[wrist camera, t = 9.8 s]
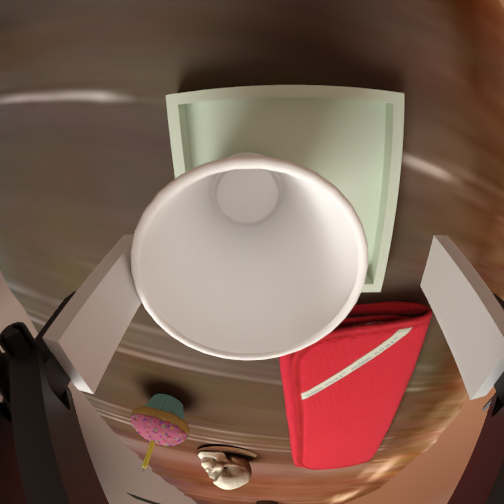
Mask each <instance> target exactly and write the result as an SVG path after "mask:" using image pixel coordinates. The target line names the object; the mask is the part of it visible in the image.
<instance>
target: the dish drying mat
mask: <svg viewBox="0 0 504 504" xmlns="http://www.w3.org/2000/svg"><path fill="white" fill-rule="evenodd" d="M431 316H432V309H431V308H430V307H428V306H426V305H423V304H419V303H412V302H403V301H387V302H378V303H370V304H360V305H354V307H353V308H352V309H351V311H350V312H349V314H348V315H347V316H346V318H345V319H344V320H343V321H342V322H341V323H340V324H339V325H338V326H337V327H336V328H335V329H334V330H333V331H332V332H330V333H329V334H327V335H326V336H324V337H323V338H322V339H320V340H319V341H317V342H316V343H314V344H312V345H310V346H308V347H305V348H303V349H301V350H299V351H296V352H293V353H290V354H287V355H284V356H280V357H279V362H280V370H281V378H282V384H283V391H284V398H285V408H286V415H287V420H288V427H289V437H290V446H291V452H292V457H293V461H294V464H295V466H298V467H304V468H307V469H313V470H321V469H335V468H342V467H348V466H353V465H357V464H361V463H364V462H367V461H369V460H370V459H371V458H372V457H373V456H374V454H375V453H376V451H377V450H378V448H379V446H380V444H381V442H382V440H383V438H384V436H385V434H386V432H387V431H388V429H389V427H390V425H391V422H392V419H393V417H394V415H395V413H396V411H397V409H398V406H399V404H400V401H401V399H402V397H403V394H404V392H405V390H406V387H407V385H408V382H409V380H410V377H411V375H412V373H413V370H414V368H415V365H416V362H417V359H418V356H419V353H420V350H421V347H422V345H423V342H424V338H425V335H426V332H427V329H428V326H429V322H430V320H431Z"/></svg>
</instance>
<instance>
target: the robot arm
mask: <svg viewBox="0 0 504 504" xmlns="http://www.w3.org/2000/svg"><path fill="white" fill-rule="evenodd" d="M133 237H134V235H124V236H123V237H122V238H121V239H120V240H119V241H118V242H117V244H116V245H115V246H114V247H113V248H112V249H111V250H110V252H109V253H108V254H107V255H106V256H105V257H104V259H103V260H102V261H101V262H100V263H99V264H98V266H97V267H96V268H95V269H94V270H93V272H92V273H91V274H90V275H89V276H88V278H87V279H86V280H85V281H84V283H83V284H82V285H81V286H80V288H79V289H78V290H77V291H76V292H75V291H74V292H73V293H72V294H71V295H69V296H68V297H67V298H65V299H64V301H63V302H62V303H61V304H60V306H59V307H58V309H57V310H56V311H55V312H54V314H53V316H51V318H50V319H49V320H48V322H47V323H46V324H45V326H44V327H43V328H42V330H41V331H40V333H39V334H38V335H37V337H36V338H35V339H34V338H33V336H32V335H31V333H30V331H29V330H28V328H27V327H26V325H25V324H24V323H22V322H16V323H13V324H11V325H9V326H7V327H6V328H5V329H4V330H3V331H2V332H1V334H0V345H1V347H2V348H3V350H4V351H5V353H2V352H1V350H0V395H1V396H2V397H3V401H2V403H1V402H0V504H109V503H108V501H107V498H106V496H105V494H104V491H103V489H102V487H101V484H100V482H99V480H98V477H97V475H96V472H95V469H94V467H93V464H92V461H91V459H90V456H89V453H88V450H87V447H86V444H85V441H84V438H83V435H82V432H81V428H80V425H79V421H78V418H77V414H76V410H75V406H74V402H73V398H72V394H71V391H70V389H69V388H68V384H69V382H70V380H71V381H72V382H73V384H74V385H75V386H76V388H77V389H78V390H81V391H85V392H88V393H92V394H94V393H95V390H96V388H97V386H98V384H99V382H100V380H101V378H102V376H103V374H104V372H105V370H106V368H107V366H108V364H109V362H110V360H111V358H112V356H113V354H114V352H115V350H116V348H117V346H118V345H119V343H120V341H121V339H122V337H123V335H124V333H125V331H126V329H127V328H128V326H129V324H130V322H131V320H132V318H133V316H134V315H135V313H136V311H137V309H138V307H139V306H140V304H141V302H142V301H141V299H140V297H139V295H138V293H137V291H136V288H135V284H134V280H133V277H132V273H131V247H132V242H133ZM420 286H421V288H422V290H423V292H424V294H425V296H426V298H427V300H428V302H429V304H430V306H431V308H432V310H433V312H434V314H435V316H436V318H437V320H438V323H439V325H440V327H441V329H442V331H443V333H444V336H445V338H446V340H447V342H448V345H449V347H450V349H451V352H452V354H453V356H454V359H455V361H456V364H457V366H458V369H459V371H460V374H461V376H462V379H463V381H464V384H465V387H466V390H467V392H468V395H469V398H470V400H472V399H476V398H479V397H483V396H486V395H487V393H488V392H489V391H490V390H491V388H492V387H493V386H494V387H495V389H496V393H495V395H494V396H493V397H492V398H491V399H490V400H489V401H488V403H487V404H486V405H485V406H484V408H483V411H485V410H486V409H487V408H488V406H490V407H489V410H488V412H487V416H486V419H485V422H484V425H483V428H482V431H481V433H480V436H479V438H478V441H477V443H476V446H475V448H474V451H473V453H472V456H471V458H470V460H469V462H468V464H467V467H466V469H465V471H464V473H463V475H462V477H461V479H460V481H459V483H458V485H457V487H456V489H455V491H454V493H453V495H452V496H451V498H450V500H449V502H448V504H504V301H503V300H502V299H501V298H499V297H498V296H497V295H496V294H492V292H491V291H490V289H489V288H488V287H487V285H486V284H485V282H484V281H483V280H482V278H481V277H480V276H479V274H478V273H477V272H476V270H475V269H474V268H473V266H472V265H471V264H470V263H469V261H468V260H467V259H466V257H465V256H464V255H463V254H462V252H461V251H460V250H459V249H458V248H457V246H456V245H455V244H454V243H453V242H452V240H451V239H450V238H449V237H448V236H444V235H434V237H433V241H432V245H431V249H430V253H429V257H428V260H427V264H426V267H425V271H424V274H423V278H422V281H421V284H420Z"/></svg>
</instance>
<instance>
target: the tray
mask: <svg viewBox="0 0 504 504" xmlns="http://www.w3.org/2000/svg"><path fill="white" fill-rule="evenodd" d="M166 103H167V113H168V123H169V132H170V141H171V149H172V157H173V165H174V173H175V178H177V177H178V176H179V175H181V174H183V173H185V172H187V171H189V170H191V169H193V168H195V167H198V166H200V165H202V164H204V163H207V162H211V161H215V160H219V159H224V158H227V157H229V156H231V155H234V154H238V153H250V152H251V153H257V154H261V155H264V156H266V157H272V158H277V159H283V160H288V161H291V162H294V163H296V164H298V165H301V166H303V167H306V168H308V169H310V170H313V171H315V172H316V173H318V174H319V175H321V176H322V177H324V178H325V179H326V180H328V181H329V182H331V183H332V184H333V185H335V186H336V187H337V188H338V189H339V190H340V191H341V193H342V194H343V195H344V196H345V197H346V198H347V199H348V201H349V202H350V203H351V204H352V206H353V207H354V209H355V211H356V213H357V215H358V217H359V219H360V221H361V222H362V224H363V228H364V232H365V235H366V239H367V243H368V270H367V274H366V279H365V283H364V287H363V289H362V291H361V292H381V289H382V284H383V280H384V275H385V270H386V265H387V260H388V255H389V250H390V244H391V238H392V232H393V226H394V220H395V213H396V206H397V198H398V190H399V181H400V171H401V160H402V147H403V130H404V93H399V92H392V91H384V90H376V89H366V88H355V87H342V86H323V85H262V86H242V87H229V88H217V89H208V90H199V91H191V92H184V93H177V94H170V95H166Z"/></svg>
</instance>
